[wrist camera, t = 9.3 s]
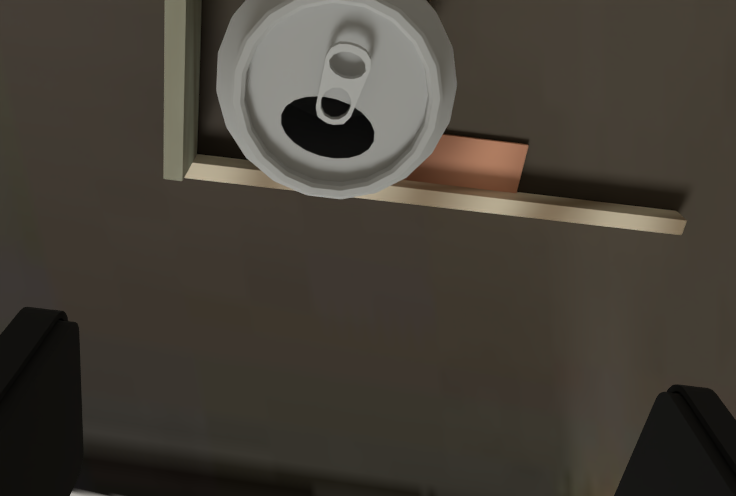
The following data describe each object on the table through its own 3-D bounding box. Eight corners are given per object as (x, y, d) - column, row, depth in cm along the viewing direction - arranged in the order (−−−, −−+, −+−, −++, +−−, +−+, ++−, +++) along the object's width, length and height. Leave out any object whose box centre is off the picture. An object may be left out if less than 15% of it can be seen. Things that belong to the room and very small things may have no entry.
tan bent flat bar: (790, -97, 29) (845, -96, 26) (671, 224, 36) (702, 256, 32) (186, -197, 26) (166, -210, 23) (179, 167, 33) (163, 195, 30)
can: (236, 87, 32) (184, 185, 21) (275, -87, 28) (237, -76, 18) (391, 132, 33) (416, 246, 22) (445, -30, 30) (505, 12, 19)
